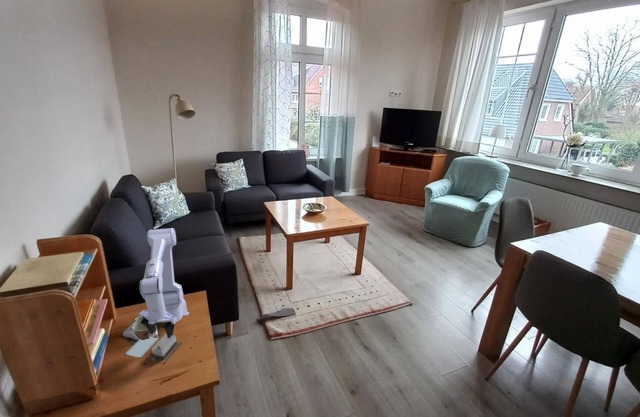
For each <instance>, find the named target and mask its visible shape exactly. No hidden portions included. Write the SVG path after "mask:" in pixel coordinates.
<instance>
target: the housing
mask: <svg viewBox="0 0 640 417" xmlns="http://www.w3.org/2000/svg"><path fill="white" fill-rule="evenodd" d="M177 343H178V341H177V337H176V335H174V334H173V335H172V336H171V337H170V338H168V337H167V333H165V334H164V335H163V336H162V337H161V338H160V339H159V341H157V342H156V343H155V345H153V347H152V348H151V351H152V355H153V356H154V358H156V359H161V360H164V359H165V358H166V357H167V356H168V355H169V354H170V352H171V351H172V350H173V349H174V348H175V346H176V345H177Z"/></svg>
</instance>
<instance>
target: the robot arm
mask: <svg viewBox="0 0 640 417" xmlns="http://www.w3.org/2000/svg"><path fill="white" fill-rule="evenodd" d="M146 239H147V243H148V245H149V246H150V247H151V250H150V251H151V252H150V259H149V260H148V261H147V262H146V264H145V265H146V266H145V271H144V275H143V279H141V280H140V281H139V293H140V295H141V296H142V299H144V301H145V305H146V309H147V310H142V311H141V312H139V318H143V320H141V324H143V325H144V326H145V327H146V328H147V329H148V333H150V335H153V334H154V333H155V332H156V330H157V327H156V325H155V323H156V322H158V323H164V324H163V326H162V329H164V331H165V332H166V333H165V334H167V337H168V338H170V337H171V336H172V335H174V331H175V326H176V323H177V322H179V321H180V320H181V319H183V316H188V315H189V314H190V312H189V311H188V307H187V302H186V300H185V299H184V292H183V287H182V285H181V284H179V283H177V282H175V273H174V262H173V261H174V260H173V247H174V246H176V245H177V236H176V230H175V228H173V227H171V228H160V229H159V228H157V229H149V230H148V231H147V233H146Z"/></svg>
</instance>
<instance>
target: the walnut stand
mask: <svg viewBox="0 0 640 417" xmlns="http://www.w3.org/2000/svg"><path fill="white" fill-rule="evenodd" d="M181 344H182V342H177V345H176V346H175V348H174V349H173V350H172V351H171V352H170V354H169V355H168V356H167V357H166V358H165V359H164V360H161V359H156V358H154V356H153V354H152V355H150V356H149V358H148V360H149V361H153V362H157V363H161V364H166V363H167V361H168V360H170V358H171V357H172V355H173V354H174V353H175V352H176V350H177V349H178V348H179V347H180V346H181Z"/></svg>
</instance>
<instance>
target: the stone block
mask: <svg viewBox="0 0 640 417" xmlns="http://www.w3.org/2000/svg"><path fill="white" fill-rule="evenodd" d="M133 323H134V322H133ZM133 323H131V324H130V326H128V327H127V328H126V329H125V330H124V331H123V332H122V336H123V337H125V338H130V339H133V340H135V341H138V340H139V338H138V337H137V336H136V335H135V334H134V332H133V331H132V325H133ZM158 323H159V322H157V324H158Z"/></svg>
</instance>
